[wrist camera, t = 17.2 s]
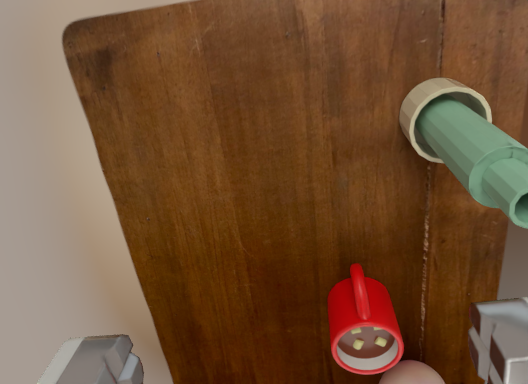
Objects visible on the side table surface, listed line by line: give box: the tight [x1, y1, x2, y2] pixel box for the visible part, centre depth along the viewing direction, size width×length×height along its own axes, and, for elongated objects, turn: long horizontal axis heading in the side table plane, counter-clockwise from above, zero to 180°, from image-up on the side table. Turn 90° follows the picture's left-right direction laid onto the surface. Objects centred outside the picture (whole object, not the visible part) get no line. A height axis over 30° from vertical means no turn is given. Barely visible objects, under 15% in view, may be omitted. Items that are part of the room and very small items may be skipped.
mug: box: [327, 263, 404, 375], centre depth 47 cm, size 8×12×8 cm, turn 13°
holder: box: [399, 78, 492, 163], centre depth 38 cm, size 7×7×4 cm
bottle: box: [415, 94, 528, 228], centre depth 31 cm, size 4×4×19 cm
